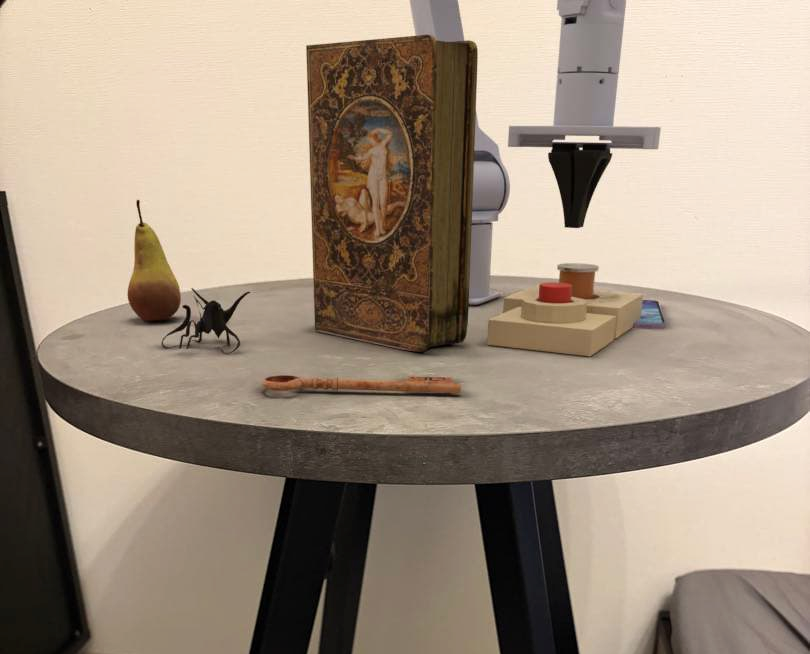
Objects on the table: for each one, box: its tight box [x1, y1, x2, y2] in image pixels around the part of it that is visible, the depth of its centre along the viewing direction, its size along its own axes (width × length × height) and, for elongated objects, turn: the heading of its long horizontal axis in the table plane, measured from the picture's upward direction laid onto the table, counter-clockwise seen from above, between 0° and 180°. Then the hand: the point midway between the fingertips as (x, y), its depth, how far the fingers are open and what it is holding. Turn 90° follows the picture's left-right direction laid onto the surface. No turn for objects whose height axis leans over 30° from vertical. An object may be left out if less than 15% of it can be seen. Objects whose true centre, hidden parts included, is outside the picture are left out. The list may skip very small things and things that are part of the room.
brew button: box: [538, 281, 572, 303], centre depth 81 cm, size 3×3×2 cm
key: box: [261, 374, 462, 394], centre depth 66 cm, size 6×1×15 cm
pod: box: [556, 262, 600, 300], centre depth 90 cm, size 4×4×6 cm
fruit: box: [127, 199, 182, 322], centre depth 89 cm, size 6×6×12 cm
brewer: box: [502, 284, 644, 340], centre depth 91 cm, size 12×10×3 cm
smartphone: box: [631, 299, 666, 330], centre depth 97 cm, size 7×1×15 cm
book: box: [305, 35, 479, 353], centre depth 79 cm, size 16×6×25 cm, turn 47°
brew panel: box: [486, 295, 616, 357], centre depth 82 cm, size 10×8×4 cm
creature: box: [161, 287, 251, 355], centre depth 79 cm, size 8×5×8 cm
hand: (573, 227), depth 88 cm, fingers closed
